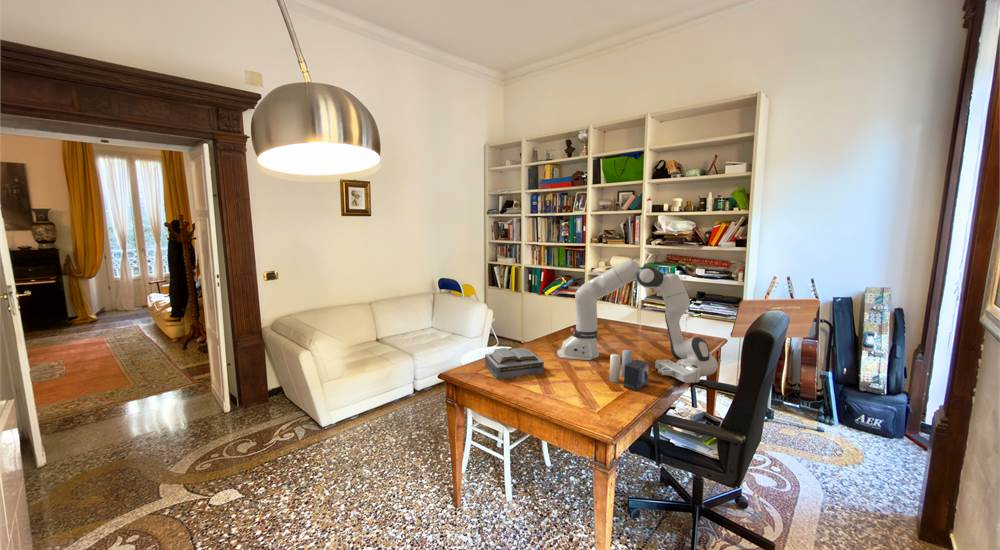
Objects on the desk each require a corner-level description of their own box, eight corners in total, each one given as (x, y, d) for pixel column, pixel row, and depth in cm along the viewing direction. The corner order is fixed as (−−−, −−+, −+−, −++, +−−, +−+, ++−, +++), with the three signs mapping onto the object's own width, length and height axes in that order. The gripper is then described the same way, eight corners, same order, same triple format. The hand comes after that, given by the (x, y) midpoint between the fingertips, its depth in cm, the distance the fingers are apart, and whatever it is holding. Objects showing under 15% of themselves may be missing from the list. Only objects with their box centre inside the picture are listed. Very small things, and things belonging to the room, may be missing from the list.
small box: (636, 392, 170) (637, 368, 169) (622, 387, 175) (623, 364, 174) (649, 385, 177) (650, 362, 176) (635, 381, 182) (636, 358, 181)
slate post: (622, 377, 186) (623, 352, 184) (620, 374, 190) (621, 349, 189) (632, 377, 186) (633, 352, 184) (629, 374, 190) (630, 349, 189)
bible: (484, 363, 206) (483, 345, 205) (535, 360, 210) (535, 342, 209) (489, 380, 183) (489, 360, 182) (546, 377, 187) (546, 357, 186)
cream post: (610, 382, 180) (611, 356, 179) (608, 378, 185) (609, 353, 183) (620, 382, 180) (621, 356, 179) (618, 378, 184) (619, 353, 183)
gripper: (669, 355, 193) (645, 358, 189) (702, 369, 174) (676, 373, 169) (669, 367, 194) (645, 370, 190) (702, 383, 174) (676, 387, 170)
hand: (660, 372), depth 179 cm, fingers closed
